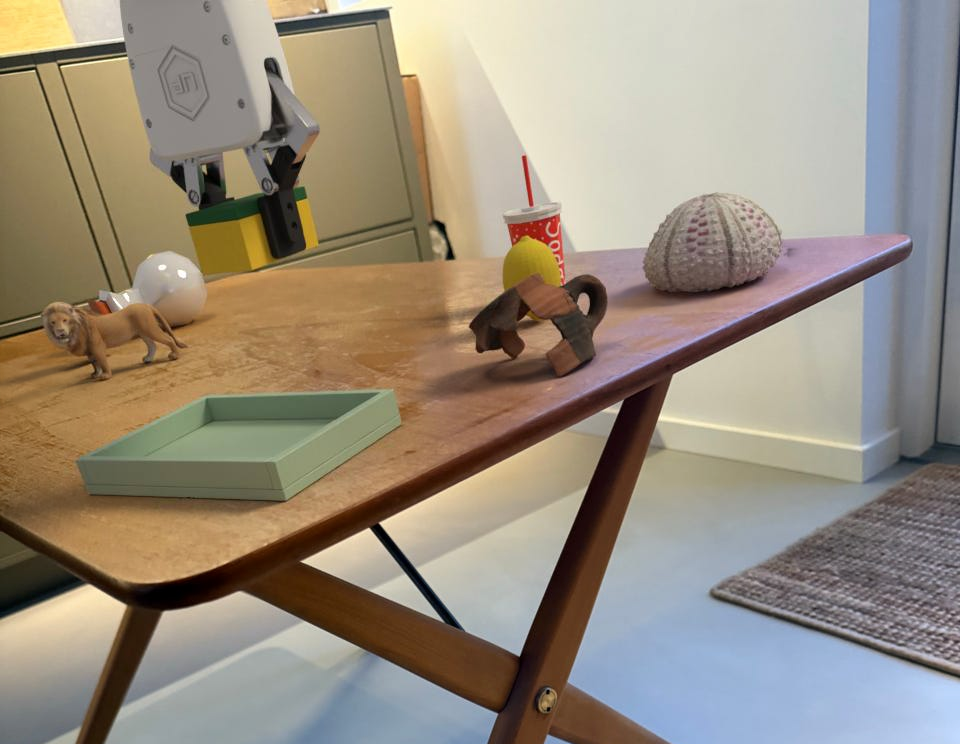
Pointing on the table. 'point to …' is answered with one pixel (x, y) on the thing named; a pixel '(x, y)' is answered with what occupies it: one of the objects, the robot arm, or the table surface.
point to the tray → (242, 445)
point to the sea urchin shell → (712, 244)
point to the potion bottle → (161, 289)
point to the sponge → (240, 234)
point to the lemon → (530, 265)
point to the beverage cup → (537, 223)
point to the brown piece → (544, 318)
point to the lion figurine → (106, 332)
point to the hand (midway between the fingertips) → (260, 254)
